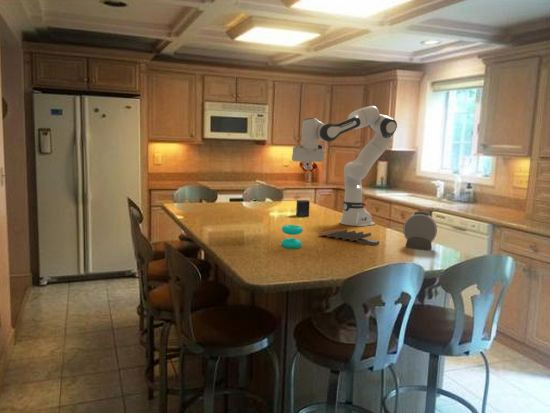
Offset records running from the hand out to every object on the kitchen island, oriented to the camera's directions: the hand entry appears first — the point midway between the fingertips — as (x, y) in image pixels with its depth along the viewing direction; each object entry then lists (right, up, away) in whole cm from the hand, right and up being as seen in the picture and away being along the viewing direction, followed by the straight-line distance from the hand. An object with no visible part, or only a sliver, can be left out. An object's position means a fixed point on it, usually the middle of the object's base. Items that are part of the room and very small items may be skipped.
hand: (307, 169), depth 281 cm
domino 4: (+18, -39, -28) cm, 51 cm away
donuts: (-11, -41, -51) cm, 67 cm away
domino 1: (+6, -37, -21) cm, 43 cm away
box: (0, -28, +45) cm, 53 cm away
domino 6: (+25, -39, -33) cm, 57 cm away
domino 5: (+21, -39, -31) cm, 54 cm away
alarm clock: (+53, -43, -40) cm, 79 cm away
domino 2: (+10, -38, -23) cm, 45 cm away
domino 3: (+14, -38, -26) cm, 48 cm away
